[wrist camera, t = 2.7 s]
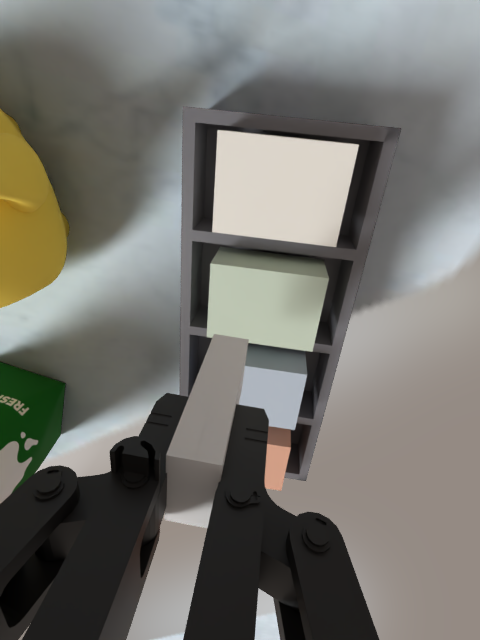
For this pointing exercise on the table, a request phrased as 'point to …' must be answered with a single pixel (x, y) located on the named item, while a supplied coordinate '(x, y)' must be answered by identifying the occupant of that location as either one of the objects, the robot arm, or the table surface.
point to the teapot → (27, 219)
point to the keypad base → (279, 248)
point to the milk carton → (26, 424)
